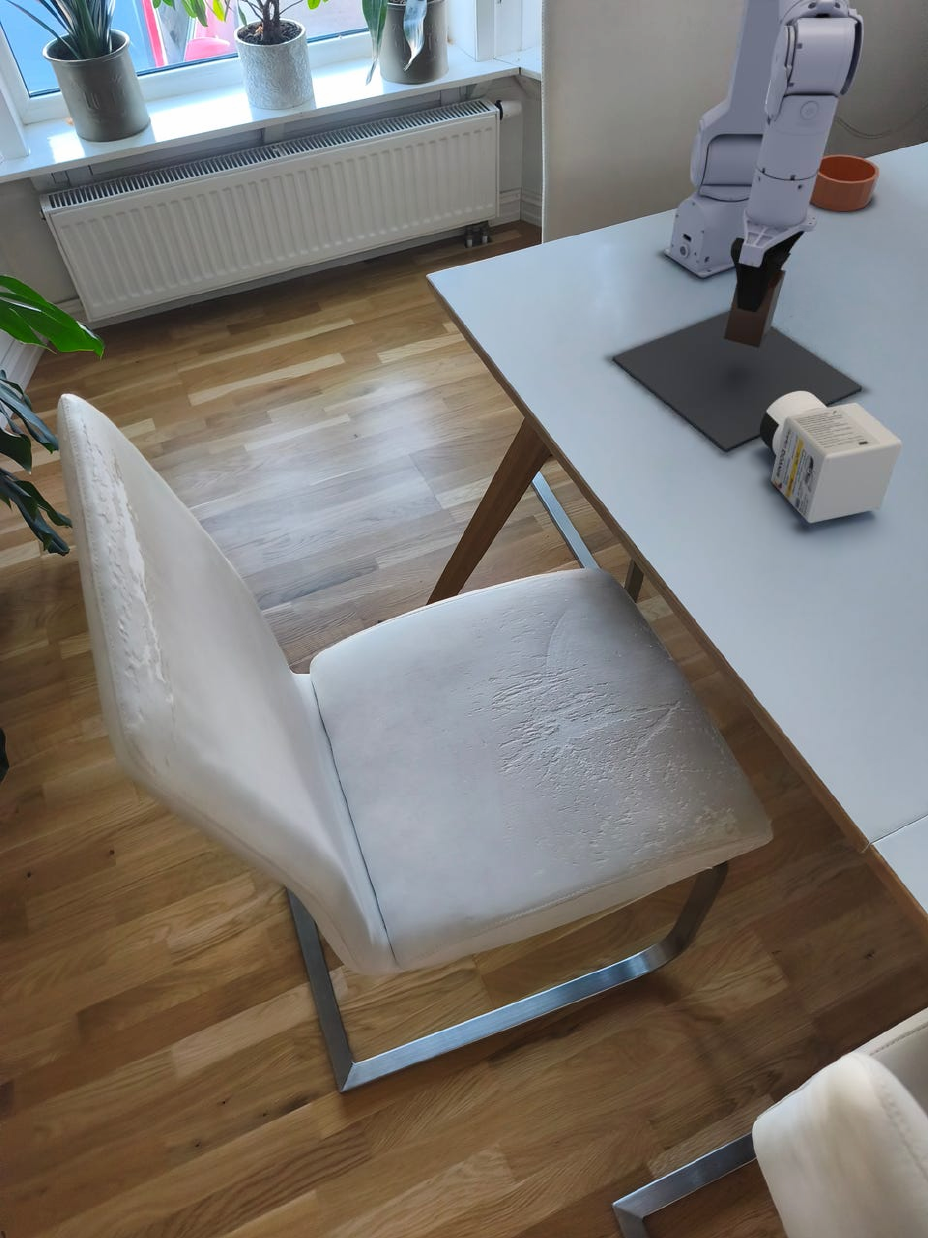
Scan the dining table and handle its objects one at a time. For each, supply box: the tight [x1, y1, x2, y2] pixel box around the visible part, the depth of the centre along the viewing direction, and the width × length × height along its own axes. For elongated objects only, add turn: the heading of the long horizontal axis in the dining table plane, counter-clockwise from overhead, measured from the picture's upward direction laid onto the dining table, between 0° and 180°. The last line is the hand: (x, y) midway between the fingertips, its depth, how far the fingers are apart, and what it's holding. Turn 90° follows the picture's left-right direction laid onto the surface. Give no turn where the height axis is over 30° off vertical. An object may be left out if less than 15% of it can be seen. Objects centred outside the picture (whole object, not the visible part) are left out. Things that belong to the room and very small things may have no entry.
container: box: [759, 391, 903, 524], centre depth 84 cm, size 8×8×13 cm
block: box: [724, 269, 787, 348], centre depth 92 cm, size 4×4×7 cm
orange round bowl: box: [810, 154, 880, 212], centre depth 123 cm, size 9×9×4 cm
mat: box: [611, 310, 863, 452], centre depth 99 cm, size 20×20×1 cm
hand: (754, 298), depth 91 cm, fingers closed on block, 4 cm apart
